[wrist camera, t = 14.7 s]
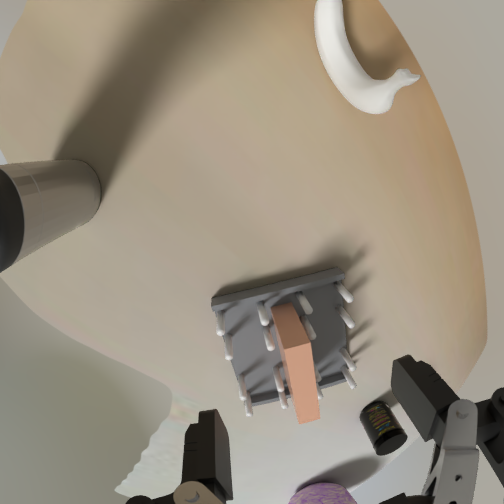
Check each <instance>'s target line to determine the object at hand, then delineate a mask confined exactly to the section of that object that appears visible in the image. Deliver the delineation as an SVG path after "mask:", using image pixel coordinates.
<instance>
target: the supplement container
mask: <svg viewBox="0 0 504 504" xmlns="http://www.w3.org/2000/svg"><path fill="white" fill-rule="evenodd" d="M360 421H361V423H362V425H363V427H364V429H365V431H366V433H367V435H368V437H369V439H370V441H371V443H372V445H373V448H374V450H375V452H376V454H377V455H380V456H381V455H387V454H389V453H392V452H394V451H395V450H397V449H398V448H400V447H401V446H402V445H403V444H404V443H405V442H406V440H407V435H406V433H405V431H404V429H403V428H402V427H401V425H400V423H399V422H398V420H397V419H396V417H395V415H394V414H393V412H392V411H391V409H390V407H389V406H388V404H387V403H386V402H384V401H377V402H374V403H371V404H370V405H368V406H367V407H365V408H364V409H363V411H362V412H361V414H360Z"/></svg>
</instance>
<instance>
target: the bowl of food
mask: <svg viewBox="0 0 504 504" xmlns="http://www.w3.org/2000/svg"><path fill="white" fill-rule="evenodd" d="M289 504H357V502H356V501H355V500H354V499H353V497H352V496H351V495H350V493H349V492H348V491H347V490H346V489H345V488H344V487H342V486H341V485H339V484H335V483H315V484H312V485H309V486H306V487H305V488H303V489H302V490H301V491H299V492H297V493H296V494H295V495H294V496H292V498H291V499H290V501H289Z"/></svg>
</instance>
